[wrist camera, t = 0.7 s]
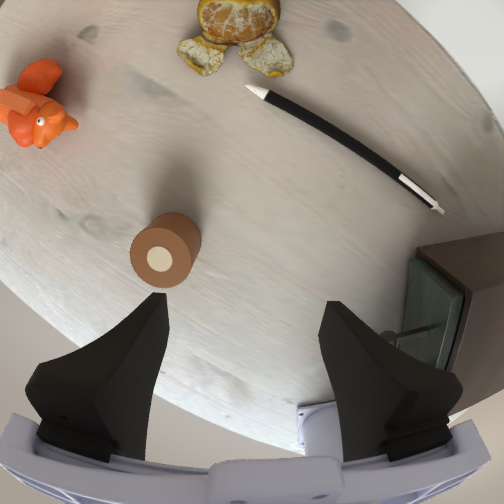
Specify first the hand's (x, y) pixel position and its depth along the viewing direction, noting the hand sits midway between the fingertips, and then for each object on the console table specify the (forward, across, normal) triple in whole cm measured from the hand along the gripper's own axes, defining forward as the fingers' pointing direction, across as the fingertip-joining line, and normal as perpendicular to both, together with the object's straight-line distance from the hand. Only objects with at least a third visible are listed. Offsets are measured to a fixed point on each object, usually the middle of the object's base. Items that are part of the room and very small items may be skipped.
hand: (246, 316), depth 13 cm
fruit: (+12, +2, -15) cm, 19 cm away
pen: (+11, -8, -7) cm, 15 cm away
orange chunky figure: (+13, +18, -11) cm, 25 cm away
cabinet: (+9, -23, +6) cm, 26 cm away
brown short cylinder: (+11, +5, +1) cm, 12 cm away
